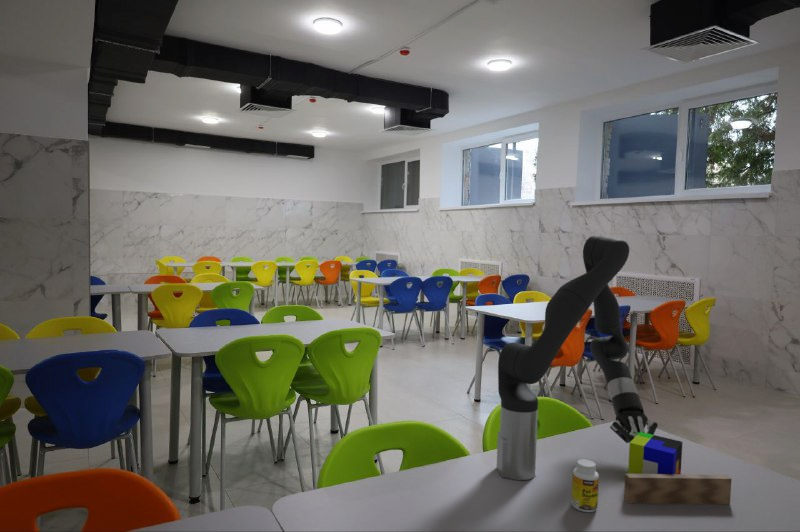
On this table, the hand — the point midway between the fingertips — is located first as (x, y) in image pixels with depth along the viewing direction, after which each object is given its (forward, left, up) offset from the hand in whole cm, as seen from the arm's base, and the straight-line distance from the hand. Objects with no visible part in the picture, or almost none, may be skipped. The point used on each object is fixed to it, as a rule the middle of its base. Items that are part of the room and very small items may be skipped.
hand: (644, 457), depth 137 cm
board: (0, -16, -4) cm, 16 cm away
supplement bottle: (-23, -19, -4) cm, 30 cm away
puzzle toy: (0, -5, -4) cm, 7 cm away
